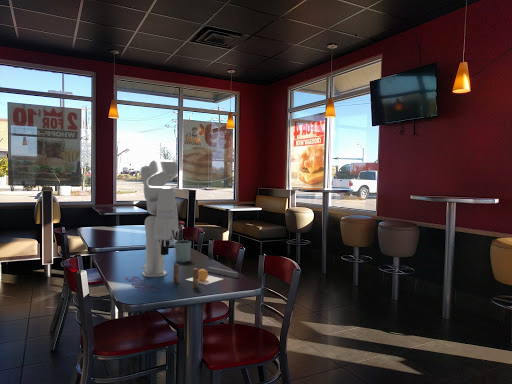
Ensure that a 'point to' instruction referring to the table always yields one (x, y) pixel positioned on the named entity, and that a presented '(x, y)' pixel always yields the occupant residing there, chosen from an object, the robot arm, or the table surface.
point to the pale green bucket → (183, 250)
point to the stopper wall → (222, 272)
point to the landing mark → (207, 280)
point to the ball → (202, 274)
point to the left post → (176, 274)
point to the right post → (195, 277)
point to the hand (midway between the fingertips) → (164, 254)
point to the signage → (141, 284)
